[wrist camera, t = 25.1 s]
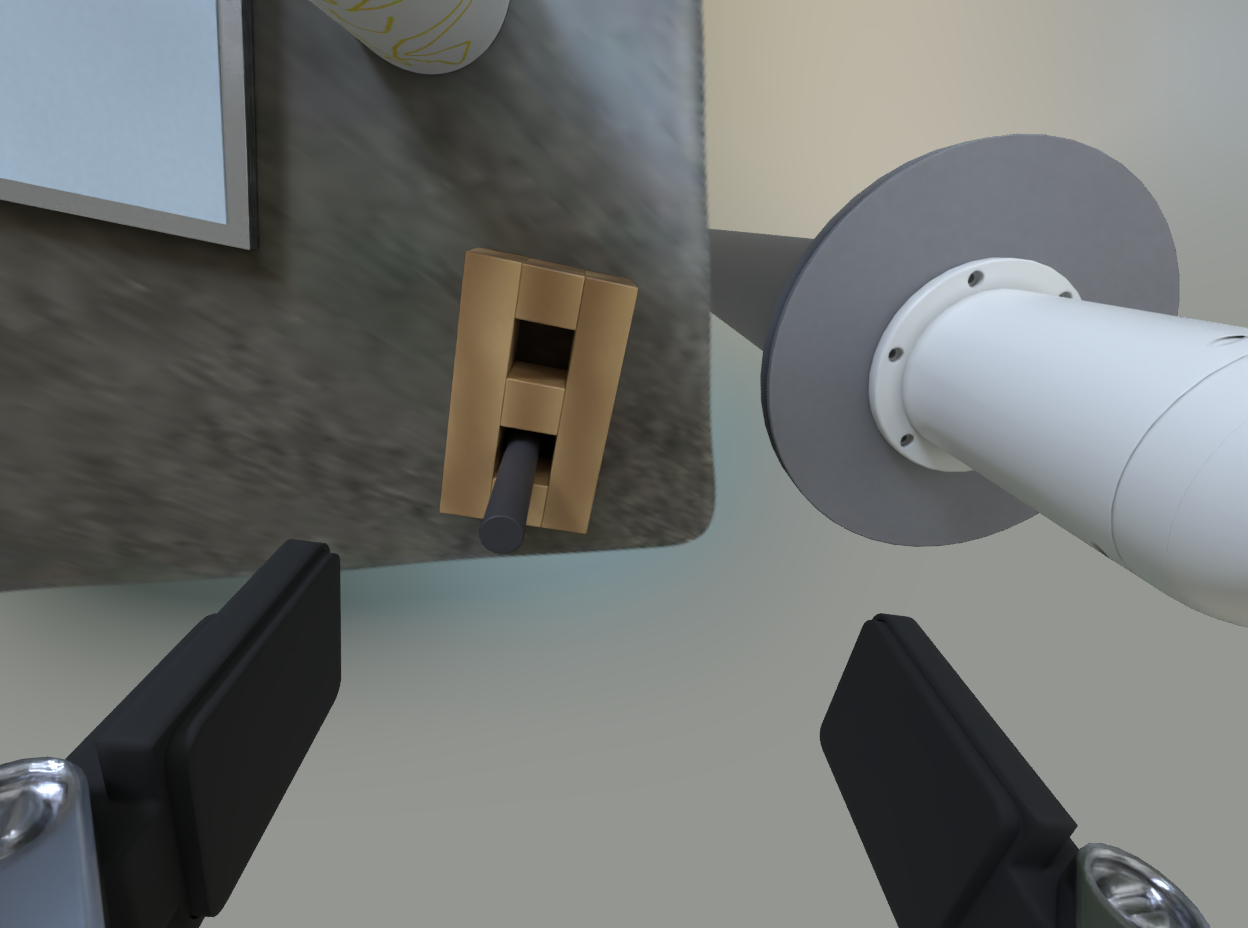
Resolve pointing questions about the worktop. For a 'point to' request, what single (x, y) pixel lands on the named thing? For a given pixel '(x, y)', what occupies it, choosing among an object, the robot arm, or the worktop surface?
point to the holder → (534, 382)
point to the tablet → (132, 113)
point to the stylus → (511, 494)
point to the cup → (421, 29)
